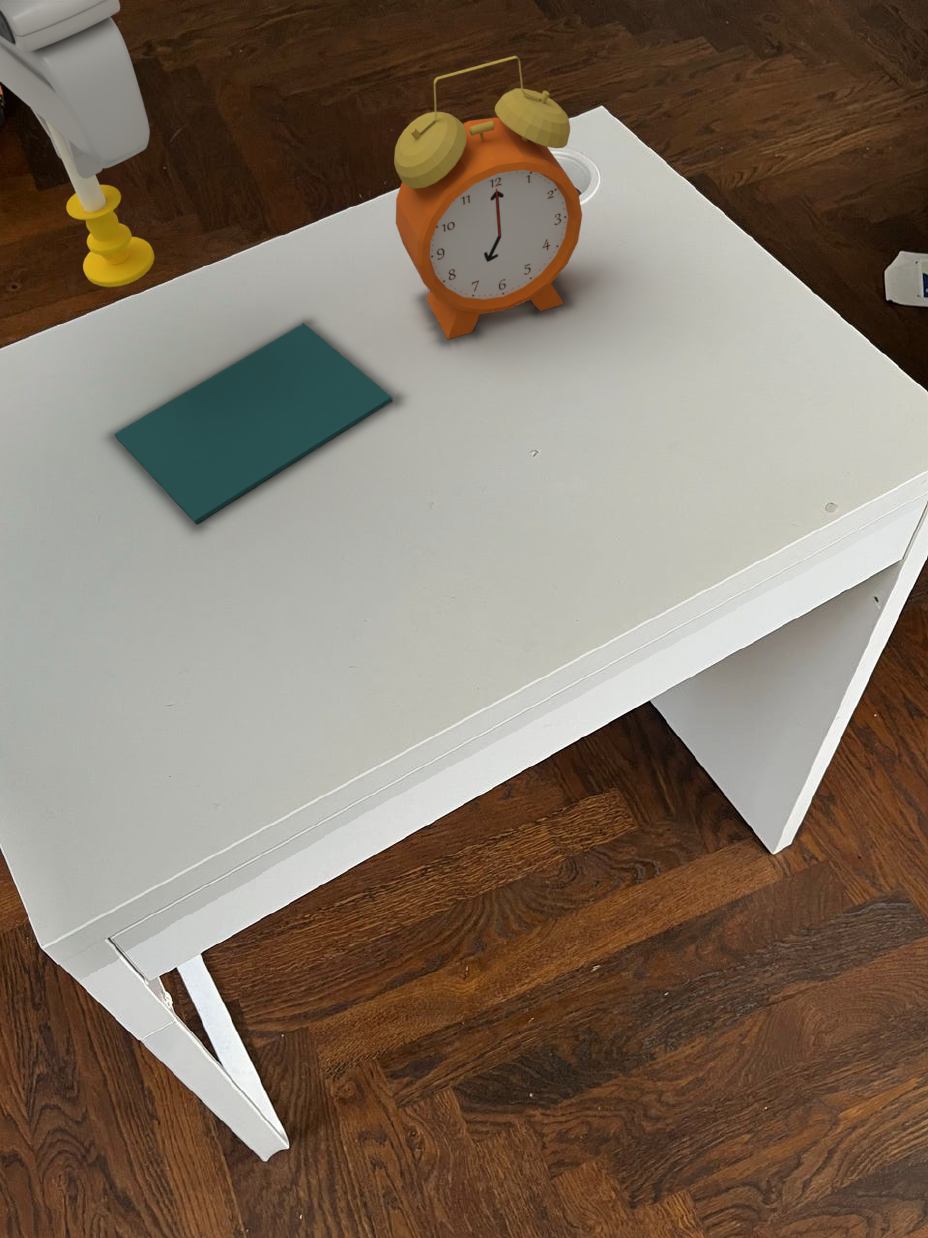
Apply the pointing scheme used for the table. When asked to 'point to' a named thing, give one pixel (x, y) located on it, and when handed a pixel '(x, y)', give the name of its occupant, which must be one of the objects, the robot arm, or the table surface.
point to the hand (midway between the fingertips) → (82, 165)
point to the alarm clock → (487, 206)
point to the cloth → (251, 421)
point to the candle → (103, 228)
